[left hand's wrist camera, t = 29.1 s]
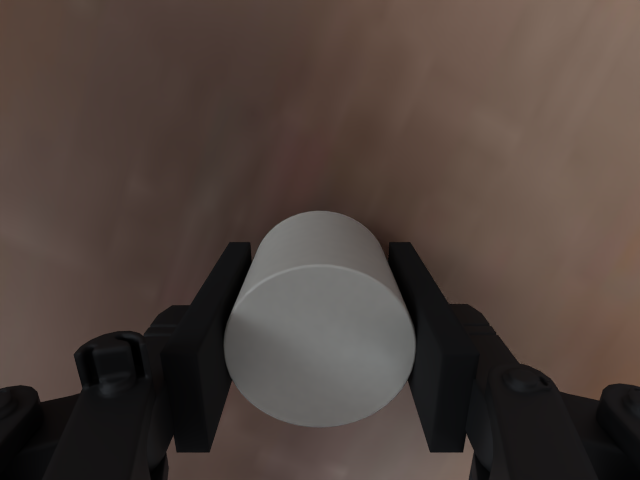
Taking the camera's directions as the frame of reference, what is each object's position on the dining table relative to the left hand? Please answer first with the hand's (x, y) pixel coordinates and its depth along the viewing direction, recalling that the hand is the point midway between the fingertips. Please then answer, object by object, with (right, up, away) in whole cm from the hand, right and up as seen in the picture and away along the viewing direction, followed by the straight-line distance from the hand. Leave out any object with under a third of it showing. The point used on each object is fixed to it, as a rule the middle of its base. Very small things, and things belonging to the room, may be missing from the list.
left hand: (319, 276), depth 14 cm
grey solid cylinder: (0, 0, 0) cm, 0 cm away
